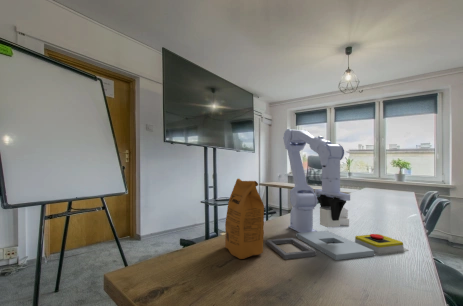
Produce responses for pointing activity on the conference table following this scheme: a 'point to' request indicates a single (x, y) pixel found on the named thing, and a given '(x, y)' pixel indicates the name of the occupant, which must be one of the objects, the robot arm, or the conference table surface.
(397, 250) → the emergency button
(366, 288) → the conference table surface
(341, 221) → the white angled block
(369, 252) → the port plate
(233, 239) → the coffee package
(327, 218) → the grey block
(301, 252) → the grey square frame
